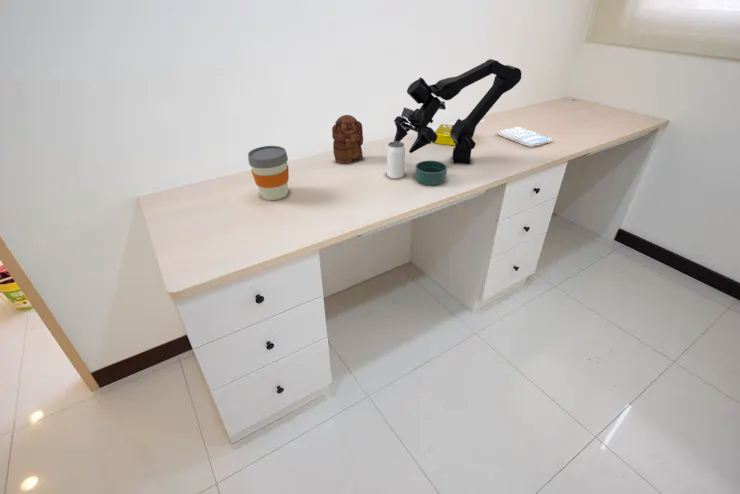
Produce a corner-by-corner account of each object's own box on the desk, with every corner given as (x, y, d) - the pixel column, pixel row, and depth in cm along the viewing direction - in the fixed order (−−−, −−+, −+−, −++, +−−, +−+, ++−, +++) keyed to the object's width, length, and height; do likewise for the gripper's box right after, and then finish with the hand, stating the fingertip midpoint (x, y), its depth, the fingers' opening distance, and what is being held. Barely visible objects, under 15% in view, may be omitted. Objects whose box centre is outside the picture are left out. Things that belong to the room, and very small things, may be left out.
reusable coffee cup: (275, 206, 122) (267, 163, 113) (248, 197, 128) (238, 155, 119) (300, 190, 131) (294, 149, 122) (274, 183, 136) (266, 143, 127)
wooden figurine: (340, 166, 147) (337, 120, 137) (333, 160, 152) (329, 116, 141) (366, 159, 152) (364, 115, 142) (358, 154, 157) (356, 111, 146)
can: (402, 179, 137) (404, 148, 130) (385, 178, 138) (385, 147, 131) (405, 172, 142) (406, 141, 135) (388, 171, 143) (388, 140, 136)
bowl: (445, 173, 140) (447, 161, 137) (445, 187, 131) (447, 174, 128) (415, 172, 142) (416, 159, 139) (413, 185, 133) (414, 172, 130)
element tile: (432, 143, 166) (433, 132, 164) (440, 132, 178) (441, 122, 175) (466, 147, 162) (467, 136, 159) (472, 136, 173) (473, 125, 170)
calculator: (517, 129, 179) (518, 125, 178) (552, 142, 165) (553, 138, 164) (496, 134, 174) (497, 130, 173) (531, 148, 160) (532, 143, 158)
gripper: (398, 93, 134) (374, 129, 136) (434, 104, 122) (406, 144, 123) (414, 111, 143) (390, 145, 144) (449, 123, 130) (422, 161, 131)
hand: (401, 148), depth 135 cm, fingers open, 9 cm apart
